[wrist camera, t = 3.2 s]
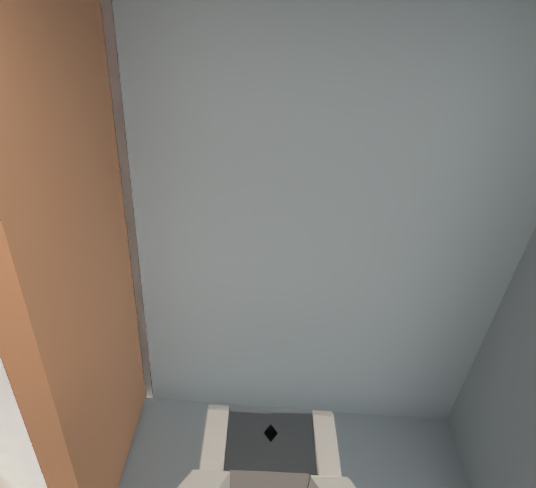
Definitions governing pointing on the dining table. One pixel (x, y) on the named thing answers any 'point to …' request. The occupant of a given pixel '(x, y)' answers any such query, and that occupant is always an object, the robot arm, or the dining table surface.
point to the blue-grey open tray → (337, 228)
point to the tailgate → (65, 245)
